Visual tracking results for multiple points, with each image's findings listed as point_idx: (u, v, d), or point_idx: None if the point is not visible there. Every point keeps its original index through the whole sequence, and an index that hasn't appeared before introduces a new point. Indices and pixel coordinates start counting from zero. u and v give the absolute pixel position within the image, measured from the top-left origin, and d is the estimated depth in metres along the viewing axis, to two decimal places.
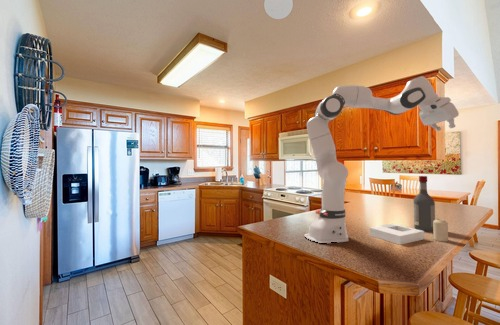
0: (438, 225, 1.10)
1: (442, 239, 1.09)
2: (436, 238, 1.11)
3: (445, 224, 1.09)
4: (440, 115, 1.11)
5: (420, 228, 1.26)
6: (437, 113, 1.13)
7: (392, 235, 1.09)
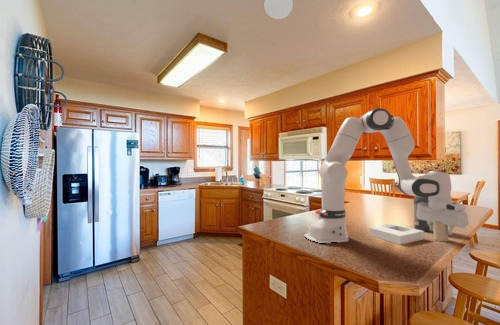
0: (438, 225, 1.10)
1: (442, 239, 1.09)
2: (436, 238, 1.11)
3: (445, 224, 1.09)
4: (449, 218, 1.07)
5: (420, 228, 1.26)
6: (445, 214, 1.08)
7: (392, 235, 1.09)
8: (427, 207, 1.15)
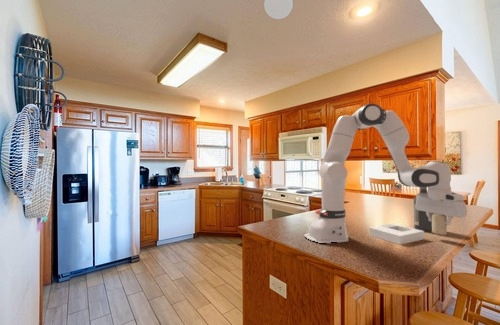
0: (437, 218, 1.10)
1: (440, 232, 1.09)
2: (434, 231, 1.11)
3: (444, 217, 1.09)
4: (448, 208, 1.07)
5: (420, 228, 1.26)
6: (444, 205, 1.08)
7: (392, 235, 1.09)
8: (426, 198, 1.15)
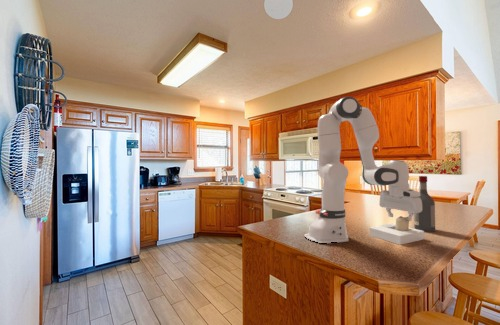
0: (400, 223, 1.15)
1: None
2: None
3: (406, 222, 1.14)
4: (406, 204, 1.13)
5: (420, 228, 1.26)
6: (403, 201, 1.15)
7: (392, 235, 1.09)
8: (388, 195, 1.22)
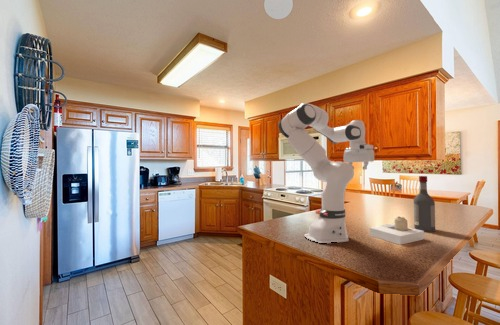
0: (398, 223, 1.16)
1: None
2: None
3: (404, 222, 1.15)
4: (362, 156, 1.36)
5: (420, 228, 1.26)
6: (360, 154, 1.38)
7: (392, 235, 1.09)
8: (349, 151, 1.45)
